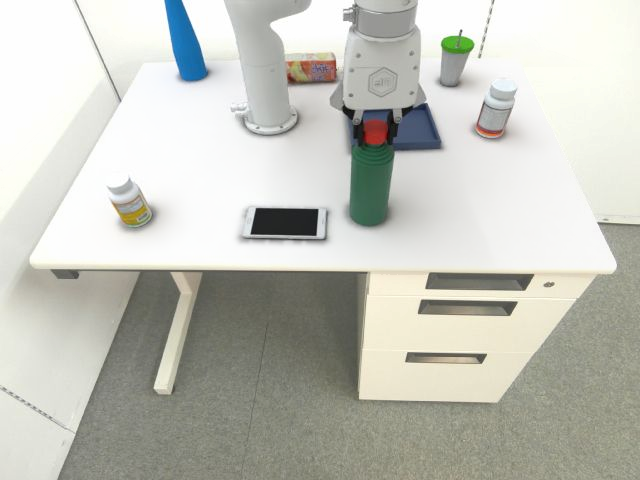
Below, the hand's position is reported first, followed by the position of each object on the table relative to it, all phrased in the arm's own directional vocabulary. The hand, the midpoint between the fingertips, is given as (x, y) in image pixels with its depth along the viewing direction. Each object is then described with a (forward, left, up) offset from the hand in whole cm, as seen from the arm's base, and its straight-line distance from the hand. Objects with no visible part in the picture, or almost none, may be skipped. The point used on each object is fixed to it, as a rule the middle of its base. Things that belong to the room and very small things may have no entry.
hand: (374, 139), depth 63 cm
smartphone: (-16, -2, -17) cm, 23 cm away
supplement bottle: (-44, +1, -17) cm, 47 cm away
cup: (+26, +46, -17) cm, 55 cm away
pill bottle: (+30, +24, -17) cm, 42 cm away
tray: (+8, +26, -16) cm, 32 cm away
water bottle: (0, 0, -16) cm, 16 cm away
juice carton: (-14, +51, -17) cm, 56 cm away
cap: (0, 0, +2) cm, 2 cm away
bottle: (-43, +56, -17) cm, 73 cm away
